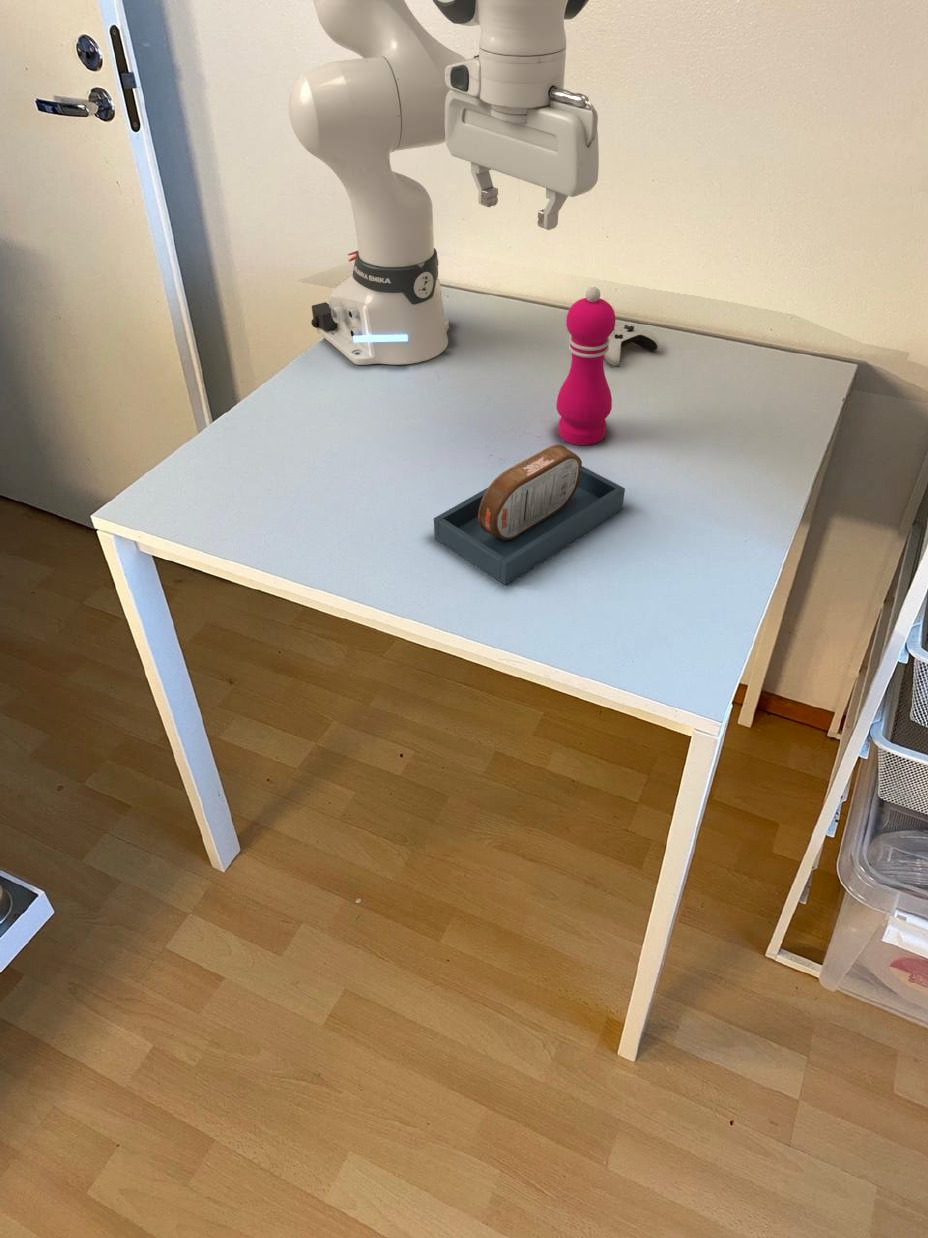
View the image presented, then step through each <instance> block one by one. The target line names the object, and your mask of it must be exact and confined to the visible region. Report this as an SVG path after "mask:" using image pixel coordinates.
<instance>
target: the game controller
mask: <svg viewBox="0 0 928 1238" xmlns="http://www.w3.org/2000/svg"><path fill="white" fill-rule="evenodd" d="M608 338H609V340H610V342H609V344H608V346H609V350H608V352H607V353H606V354H605V355H604V360H605V361H606V362H607V363H608V364H610V365H611V366H613V367H618V366H620V365H621V361H622V360H621V359H622V347H624V346H626V345H629V344H635V345H637V346H638V347H640V348H642V349H644V350H645V351H649V352H655V351H657V349H658V348H659V340H658V338H657V337H656V336H655V335H654V334H652V333H651V332H649V331H648V330H645V329H642V328H639V327H636V326H634V325H628V324H621V325H618V326H615V328H614V330H613V332H612V333H611V334H610V335H609V336H608Z"/></svg>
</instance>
